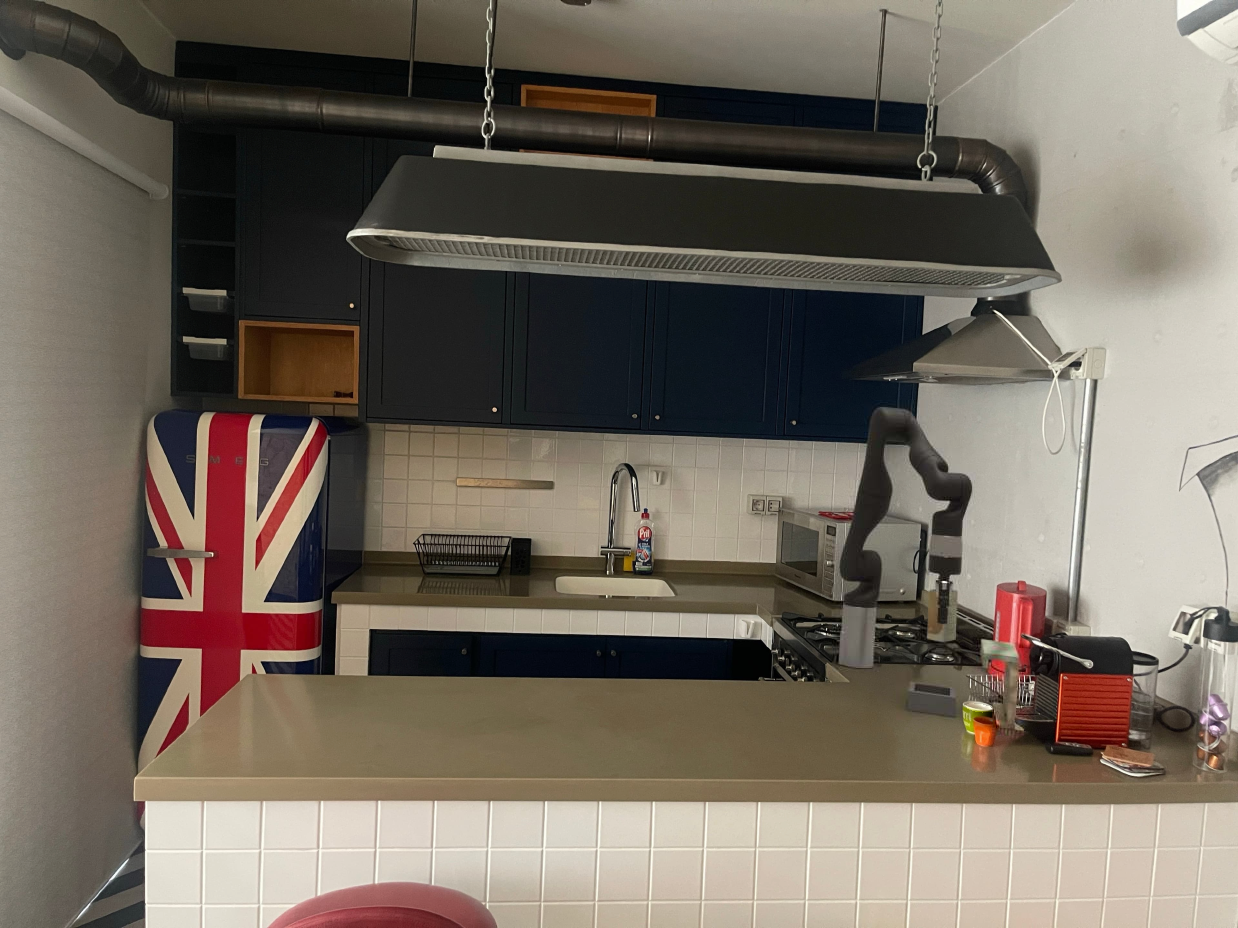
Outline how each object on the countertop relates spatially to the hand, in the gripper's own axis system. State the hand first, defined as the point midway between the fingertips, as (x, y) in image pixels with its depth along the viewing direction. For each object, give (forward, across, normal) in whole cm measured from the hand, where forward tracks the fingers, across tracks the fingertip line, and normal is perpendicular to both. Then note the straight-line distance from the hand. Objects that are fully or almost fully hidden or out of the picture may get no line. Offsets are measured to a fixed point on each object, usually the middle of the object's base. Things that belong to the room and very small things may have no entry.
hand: (941, 620), depth 211 cm
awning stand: (+20, +4, +14) cm, 25 cm away
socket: (+20, +5, -1) cm, 21 cm away
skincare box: (+5, 0, 0) cm, 5 cm away
